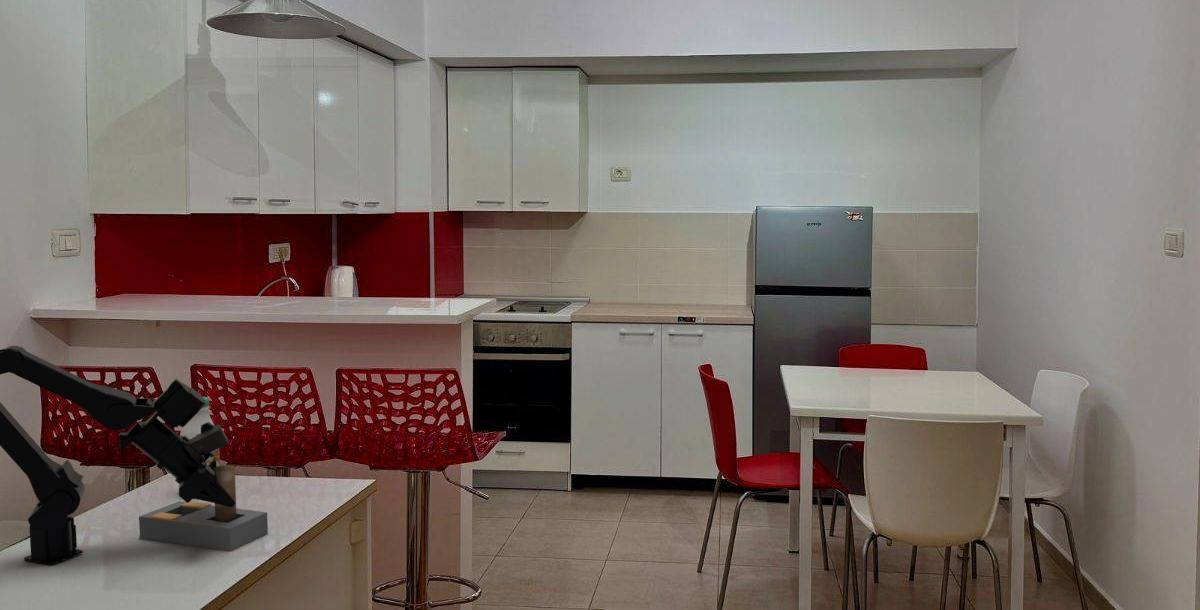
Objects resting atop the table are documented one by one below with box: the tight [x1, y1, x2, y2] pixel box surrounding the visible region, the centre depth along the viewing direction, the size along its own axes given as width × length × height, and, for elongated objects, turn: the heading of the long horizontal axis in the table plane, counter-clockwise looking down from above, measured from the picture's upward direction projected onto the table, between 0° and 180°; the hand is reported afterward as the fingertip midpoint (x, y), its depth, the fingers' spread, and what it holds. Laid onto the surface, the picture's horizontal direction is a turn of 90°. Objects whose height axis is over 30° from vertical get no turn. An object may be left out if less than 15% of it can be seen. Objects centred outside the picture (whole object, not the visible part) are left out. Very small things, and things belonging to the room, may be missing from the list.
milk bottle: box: [179, 396, 221, 467], centre depth 212 cm, size 8×8×20 cm
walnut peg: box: [213, 464, 237, 523], centre depth 183 cm, size 4×4×13 cm
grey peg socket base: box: [138, 500, 269, 552], centre depth 185 cm, size 20×10×4 cm, turn 70°
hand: (233, 502), depth 184 cm, fingers closed on walnut peg, 4 cm apart
